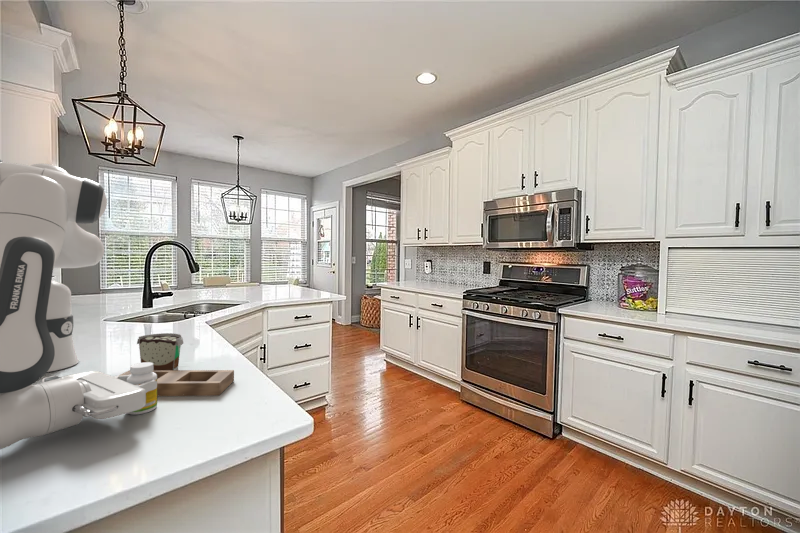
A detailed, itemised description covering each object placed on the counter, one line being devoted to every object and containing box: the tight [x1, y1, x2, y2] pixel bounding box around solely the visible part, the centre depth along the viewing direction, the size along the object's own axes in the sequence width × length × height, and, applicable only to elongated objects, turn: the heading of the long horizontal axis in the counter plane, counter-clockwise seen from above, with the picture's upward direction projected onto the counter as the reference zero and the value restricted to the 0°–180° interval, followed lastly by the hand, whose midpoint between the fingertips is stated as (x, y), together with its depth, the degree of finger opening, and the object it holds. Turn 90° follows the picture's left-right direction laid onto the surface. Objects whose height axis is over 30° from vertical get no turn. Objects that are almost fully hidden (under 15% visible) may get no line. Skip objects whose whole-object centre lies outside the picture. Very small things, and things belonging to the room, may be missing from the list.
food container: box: [136, 332, 184, 370], centre depth 100 cm, size 12×6×10 cm, turn 84°
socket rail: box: [118, 369, 235, 397], centre depth 88 cm, size 26×9×3 cm, turn 96°
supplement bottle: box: [126, 362, 158, 415], centre depth 76 cm, size 5×5×10 cm
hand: (146, 380), depth 76 cm, fingers closed on supplement bottle, 5 cm apart
